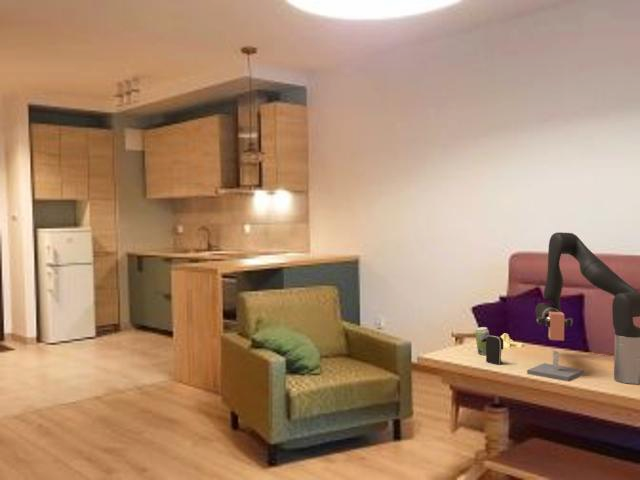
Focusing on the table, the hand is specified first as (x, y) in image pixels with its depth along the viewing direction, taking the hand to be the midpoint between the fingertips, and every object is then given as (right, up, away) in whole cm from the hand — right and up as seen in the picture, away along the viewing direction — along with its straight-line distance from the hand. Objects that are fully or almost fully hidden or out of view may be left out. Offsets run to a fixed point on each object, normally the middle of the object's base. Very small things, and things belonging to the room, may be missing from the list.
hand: (557, 324), depth 241 cm
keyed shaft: (0, -18, +3) cm, 18 cm away
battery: (-18, -19, +21) cm, 34 cm away
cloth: (-4, -19, +59) cm, 62 cm away
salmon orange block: (+1, -6, +3) cm, 7 cm away
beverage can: (-19, -19, +38) cm, 46 cm away
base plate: (0, -20, +3) cm, 20 cm away
